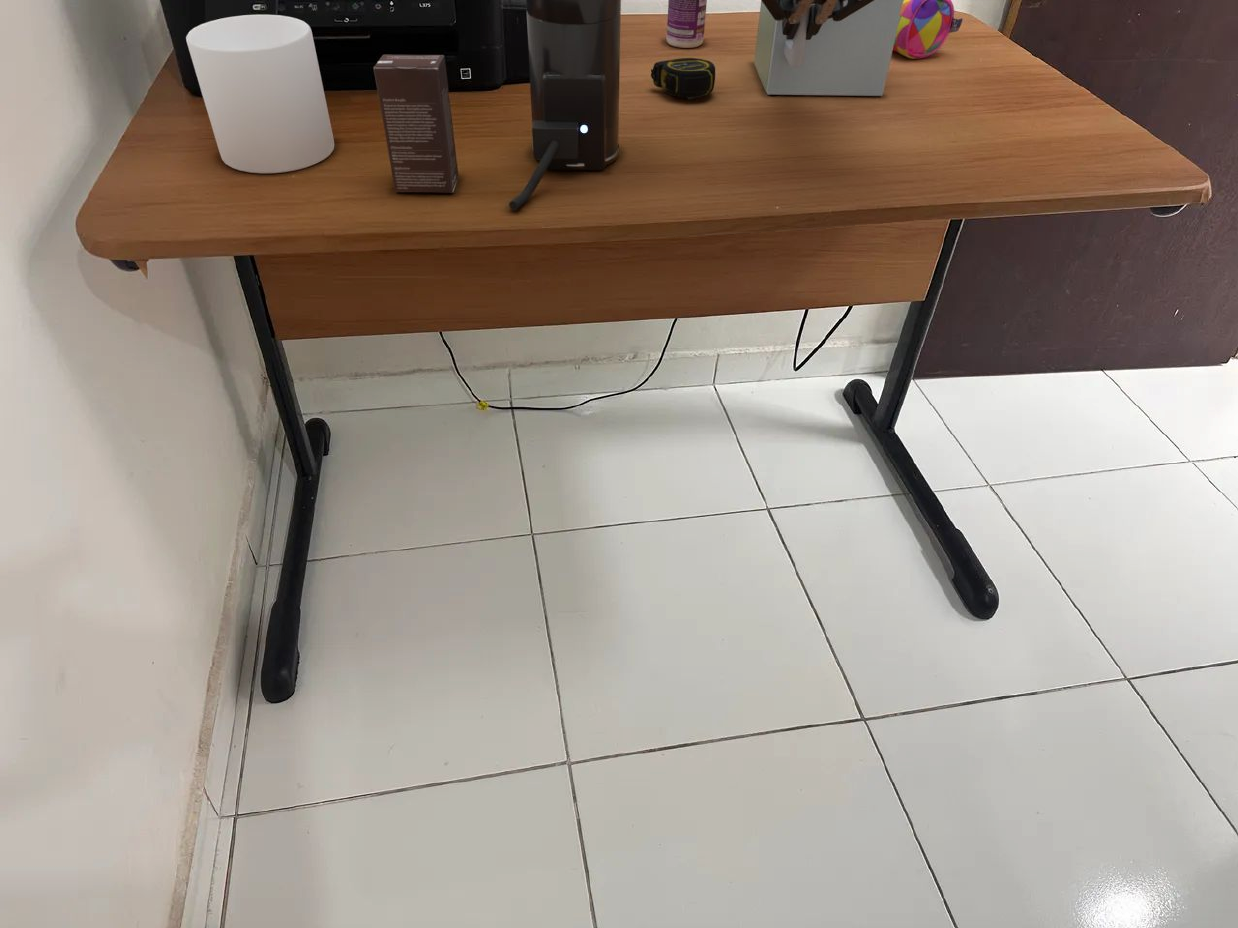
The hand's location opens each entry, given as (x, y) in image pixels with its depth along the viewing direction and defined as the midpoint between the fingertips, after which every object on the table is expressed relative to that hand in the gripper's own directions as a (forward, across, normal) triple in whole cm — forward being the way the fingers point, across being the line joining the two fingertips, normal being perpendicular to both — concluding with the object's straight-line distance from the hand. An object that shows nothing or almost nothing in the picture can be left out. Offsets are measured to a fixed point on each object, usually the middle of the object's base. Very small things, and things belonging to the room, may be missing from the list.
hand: (797, 32), depth 100 cm
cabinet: (+13, -6, -1) cm, 14 cm away
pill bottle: (+23, +10, -11) cm, 27 cm away
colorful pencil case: (+25, -19, -13) cm, 34 cm away
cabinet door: (+7, -5, +5) cm, 10 cm away
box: (-10, +41, +22) cm, 48 cm away
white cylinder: (-4, +58, +16) cm, 60 cm away
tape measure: (+9, +13, +3) cm, 16 cm away
